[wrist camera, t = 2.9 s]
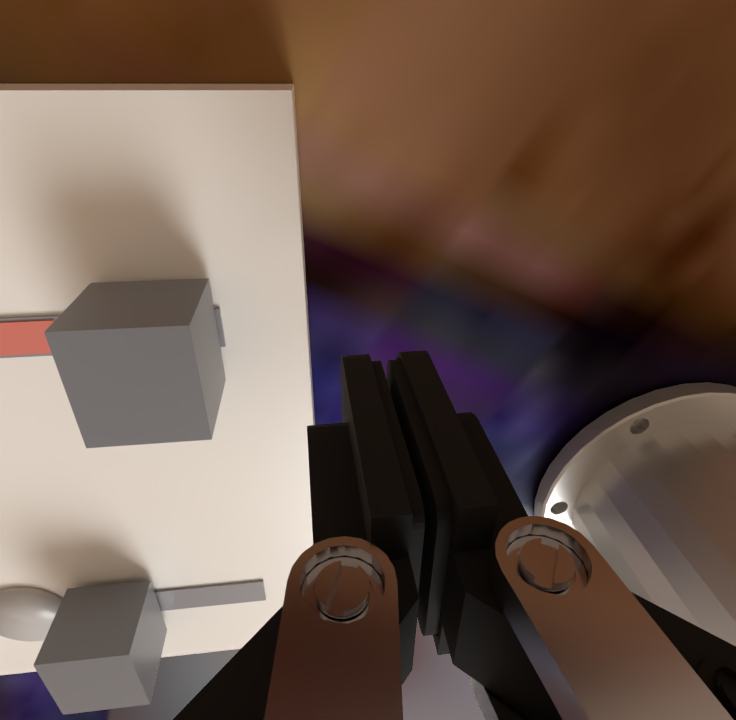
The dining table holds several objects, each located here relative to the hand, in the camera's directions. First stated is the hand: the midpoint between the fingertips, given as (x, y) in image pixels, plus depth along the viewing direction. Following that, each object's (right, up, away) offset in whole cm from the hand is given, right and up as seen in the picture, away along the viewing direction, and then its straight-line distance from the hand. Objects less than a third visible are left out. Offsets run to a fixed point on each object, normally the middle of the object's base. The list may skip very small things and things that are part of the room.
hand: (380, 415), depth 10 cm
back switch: (-10, -9, +10) cm, 16 cm away
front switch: (-6, +2, +4) cm, 7 cm away
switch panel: (-10, -1, +10) cm, 14 cm away
